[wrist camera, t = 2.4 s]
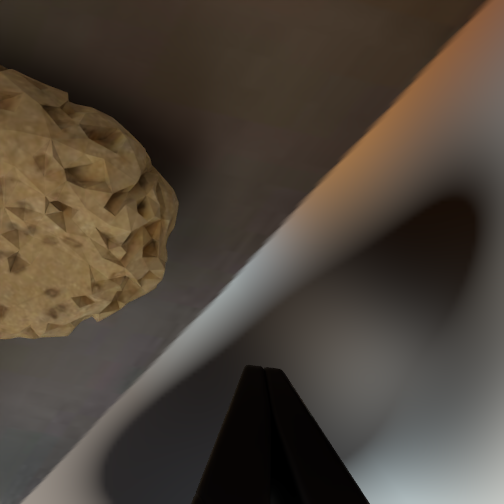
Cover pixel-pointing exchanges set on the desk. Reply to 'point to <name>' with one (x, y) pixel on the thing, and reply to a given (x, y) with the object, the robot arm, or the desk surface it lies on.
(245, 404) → the robot arm
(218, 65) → the desk surface
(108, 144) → the sponge
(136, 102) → the desk surface
